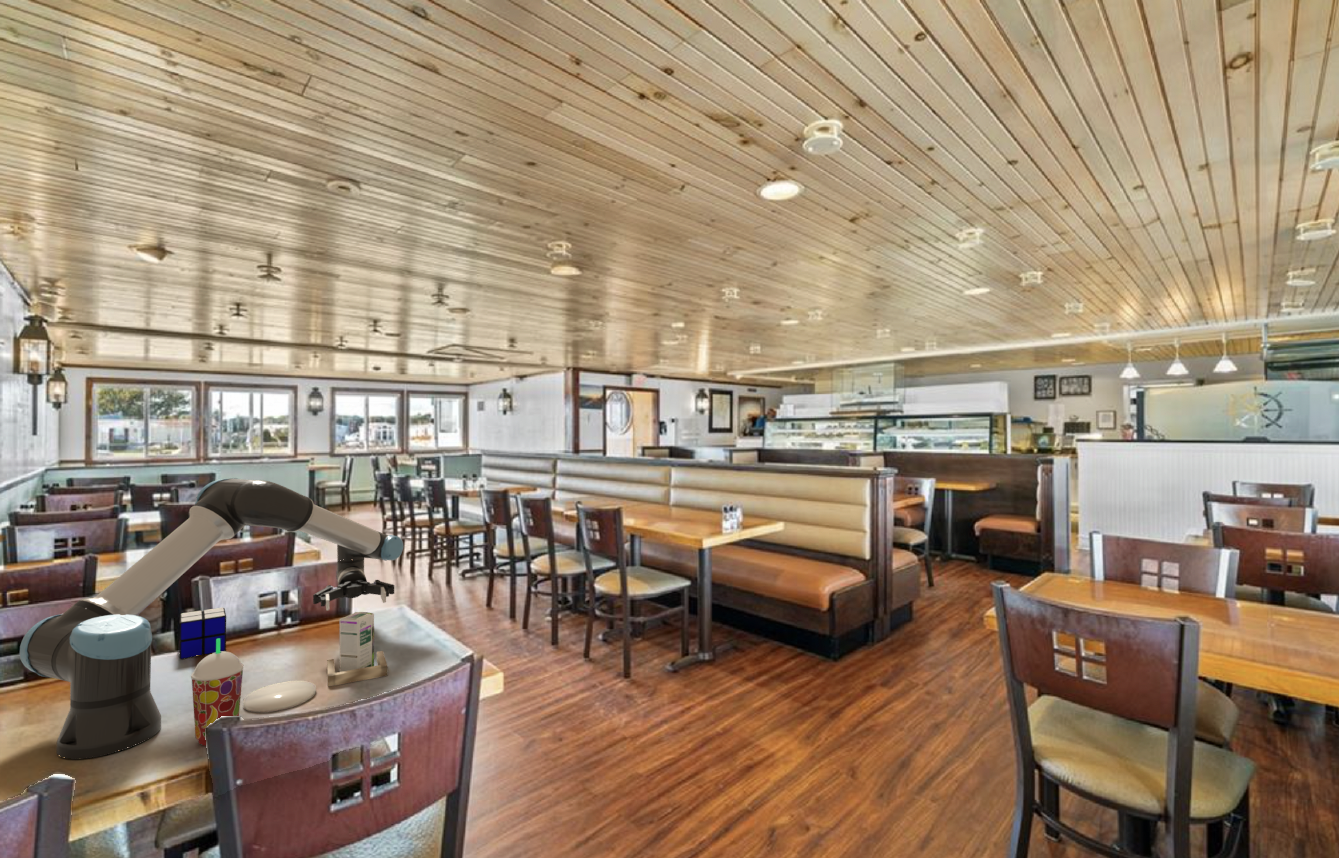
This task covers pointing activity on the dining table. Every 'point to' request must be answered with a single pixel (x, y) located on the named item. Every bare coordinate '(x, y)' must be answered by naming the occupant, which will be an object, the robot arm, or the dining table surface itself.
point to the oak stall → (357, 672)
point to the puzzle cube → (202, 632)
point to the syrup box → (356, 641)
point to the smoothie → (216, 689)
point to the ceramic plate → (279, 696)
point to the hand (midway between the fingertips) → (356, 601)
